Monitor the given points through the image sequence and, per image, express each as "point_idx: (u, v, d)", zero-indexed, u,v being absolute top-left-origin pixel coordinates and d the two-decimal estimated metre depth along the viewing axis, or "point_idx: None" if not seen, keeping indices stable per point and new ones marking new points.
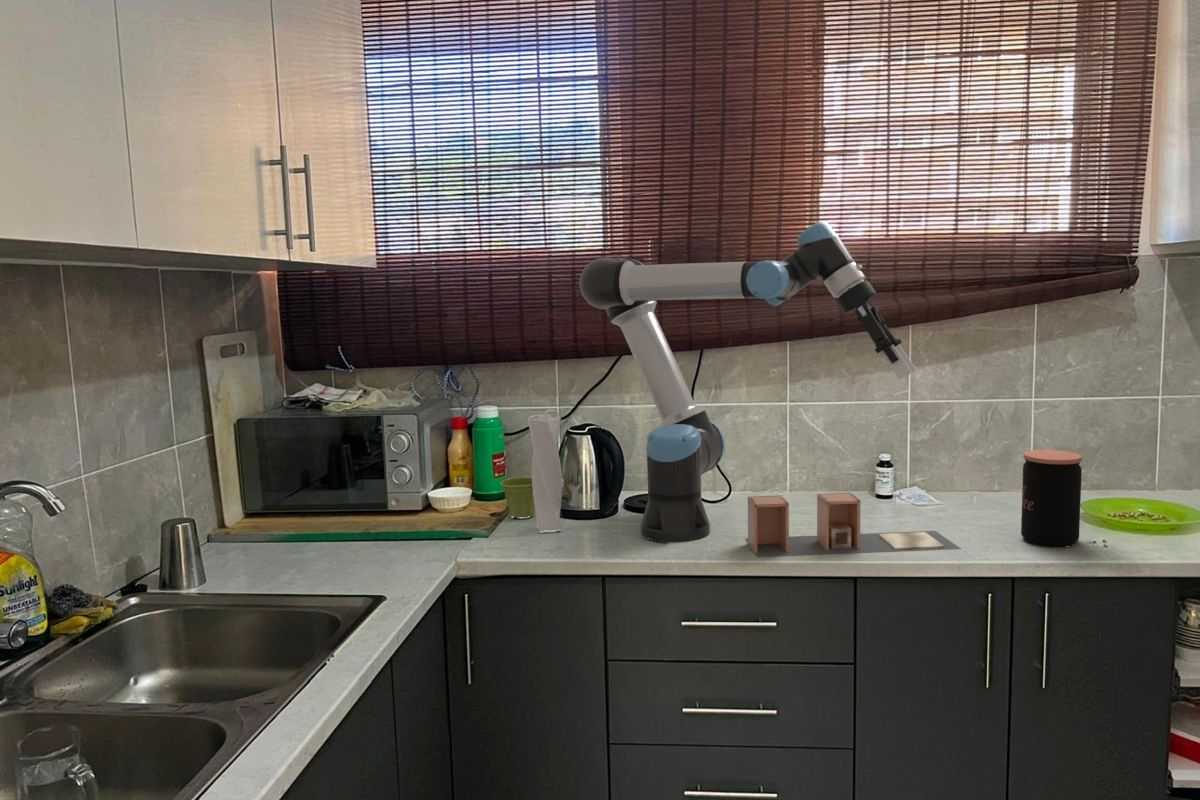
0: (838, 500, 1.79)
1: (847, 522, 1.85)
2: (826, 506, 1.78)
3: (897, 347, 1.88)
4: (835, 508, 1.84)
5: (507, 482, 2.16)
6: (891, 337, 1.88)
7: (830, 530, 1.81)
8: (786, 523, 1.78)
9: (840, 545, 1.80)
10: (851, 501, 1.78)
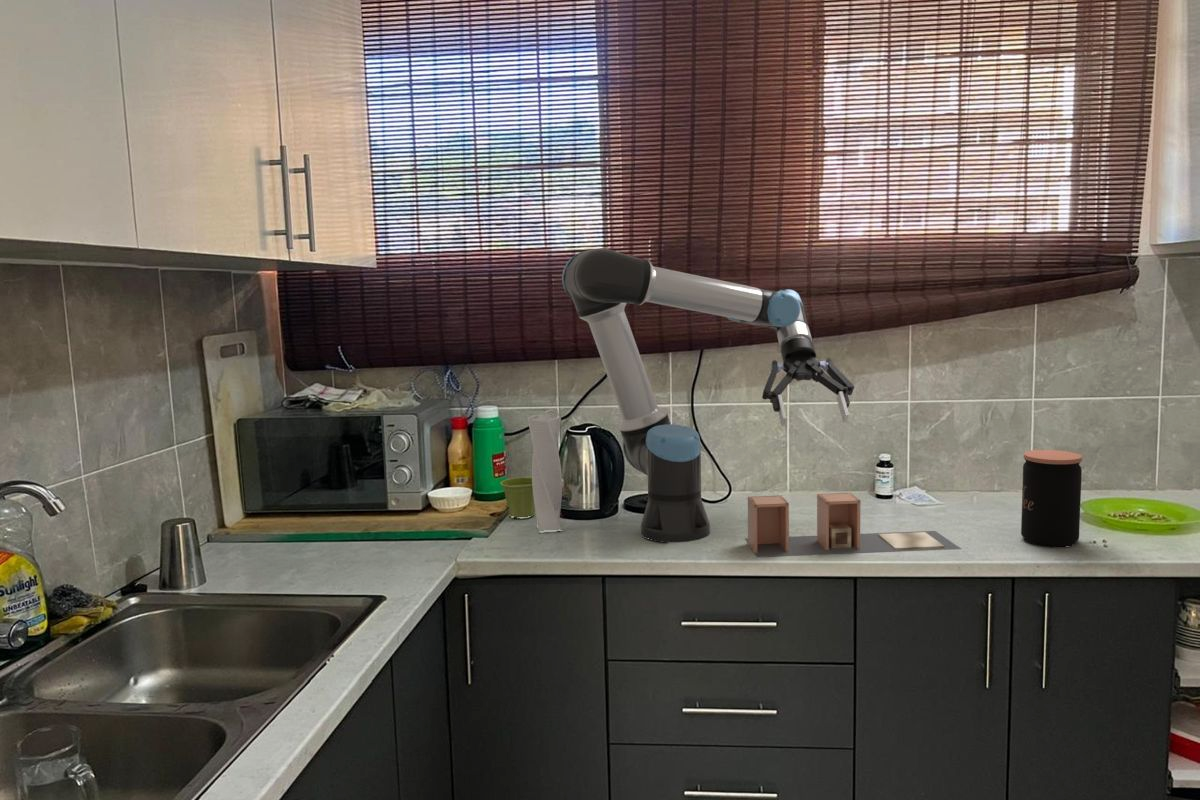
0: (838, 500, 1.79)
1: (847, 522, 1.85)
2: (826, 506, 1.78)
3: None
4: (835, 508, 1.84)
5: (507, 482, 2.16)
6: None
7: (830, 530, 1.81)
8: (786, 523, 1.78)
9: (840, 545, 1.80)
10: (851, 501, 1.78)
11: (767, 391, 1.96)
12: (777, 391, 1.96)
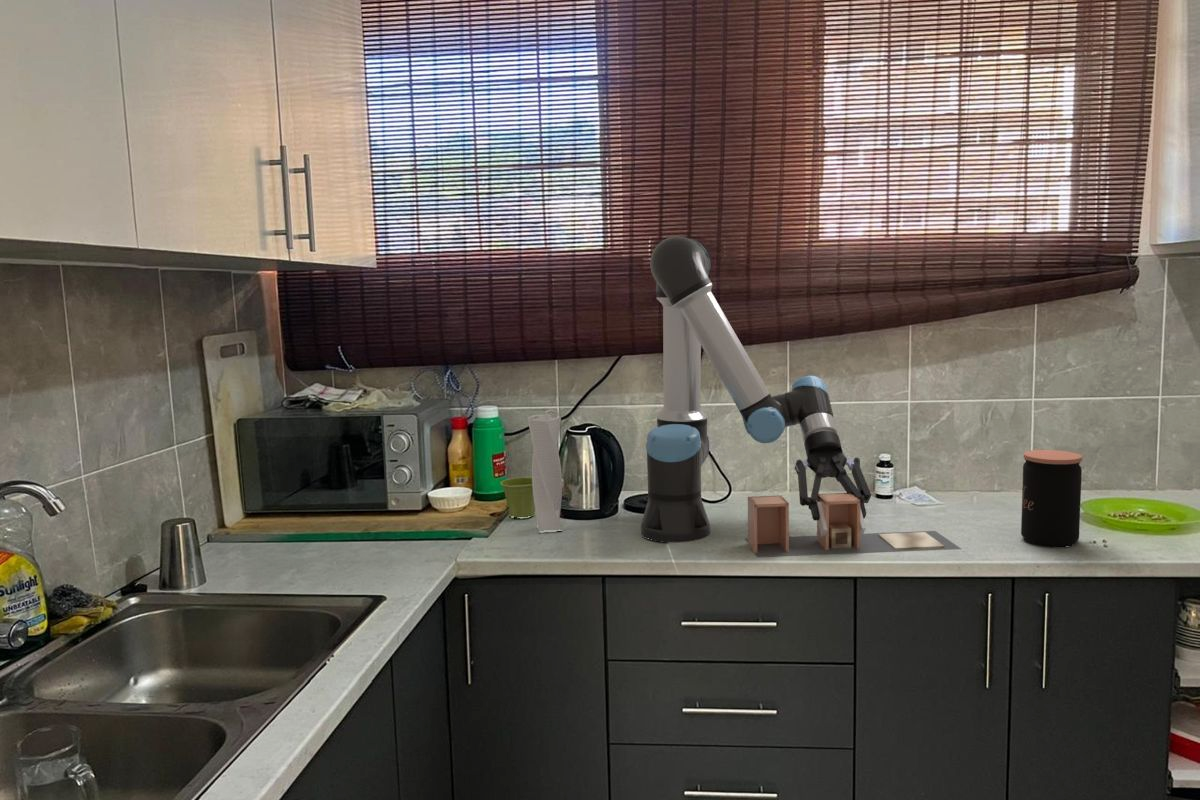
0: (838, 500, 1.79)
1: (847, 522, 1.85)
2: (826, 506, 1.78)
3: None
4: (835, 508, 1.84)
5: (507, 482, 2.16)
6: None
7: (830, 530, 1.81)
8: (786, 523, 1.78)
9: (840, 545, 1.80)
10: (851, 501, 1.78)
11: (806, 497, 1.82)
12: (816, 497, 1.82)
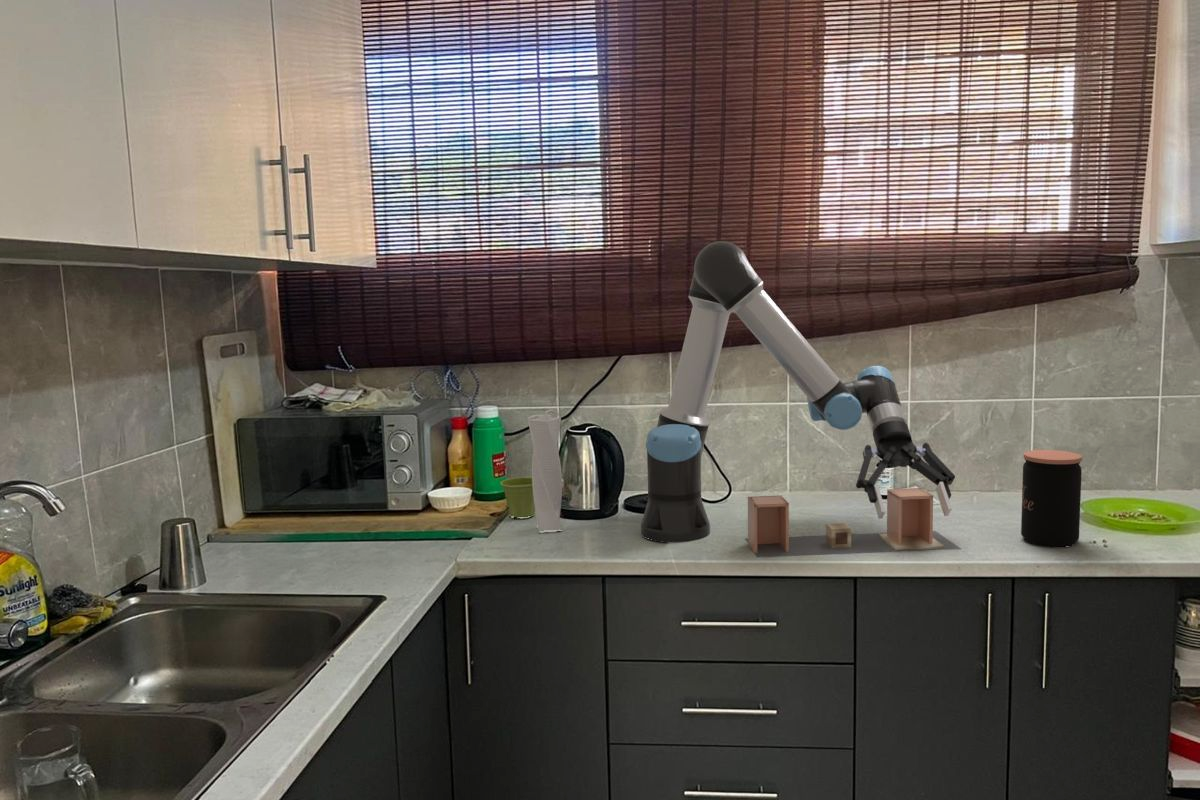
0: (911, 495, 1.79)
1: (917, 517, 1.85)
2: (899, 501, 1.78)
3: None
4: (905, 503, 1.85)
5: (507, 482, 2.16)
6: None
7: (830, 530, 1.81)
8: (786, 523, 1.78)
9: (840, 545, 1.80)
10: (924, 496, 1.78)
11: (862, 480, 1.83)
12: (873, 480, 1.83)
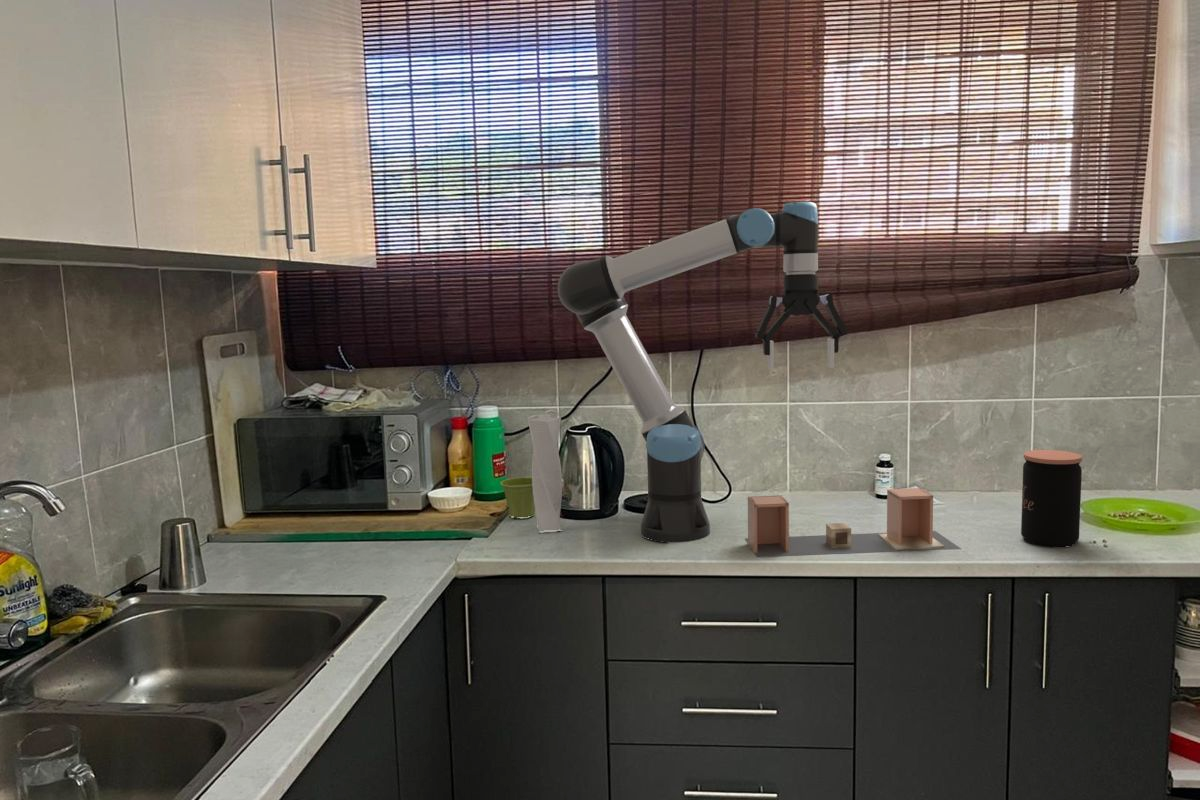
0: (911, 495, 1.79)
1: (917, 517, 1.85)
2: (899, 501, 1.78)
3: None
4: (905, 503, 1.85)
5: (507, 482, 2.16)
6: None
7: (830, 530, 1.81)
8: (786, 523, 1.78)
9: (840, 545, 1.80)
10: (924, 496, 1.78)
11: (760, 336, 1.97)
12: (770, 336, 1.97)
